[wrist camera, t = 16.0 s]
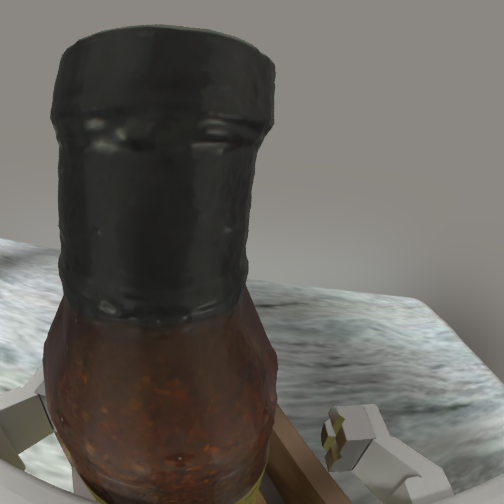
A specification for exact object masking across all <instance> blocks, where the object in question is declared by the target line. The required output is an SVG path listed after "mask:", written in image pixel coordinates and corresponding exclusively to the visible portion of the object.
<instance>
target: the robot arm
mask: <svg viewBox="0 0 504 504" xmlns="http://www.w3.org/2000/svg"><path fill="white" fill-rule="evenodd" d="M329 417H330V419H328V420H327V421H325V423H324V425H323V428H322V433H321V441H322V446H323V448H324V449H326V450H327V451H328V452H327V454H326V456H325V459H326V464H327V468H328V472H337V471H351V470H352V472H353V473H354V474H355V475H356V476H357V477H358V478H359V479H360V480H361V481H362V483H363V484H364V485H365V486H366V487H367V488H368V489H369V490H370V491H372V492H373V493H374V494H375V495H376V496H377V497H378V498H379V499H380V500H381V501H382V502H383V504H504V473H502V474H500V475H498V476H496V477H494V478H492V479H490V480H488V481H486V482H484V483H482V484H480V485H477V486H475V487H473V488H470V489H468V490H466V491H463V492H461V493H458V494H456V495H455V494H454V492H453V489H452V487H451V485H450V483H449V481H448V479H447V477H446V475H445V473H444V471H443V469H442V468H441V467H439V466H438V465H436V464H435V463H433V462H432V461H430V460H428V459H427V458H425V457H424V456H422V455H421V454H419V453H418V452H416V451H415V450H414V449H412V448H411V447H409V446H408V445H406V444H405V443H403V442H402V441H400V440H399V439H398V438H396V437H391V436H390V433H389V431H388V429H387V427H386V425H385V422H384V420H383V418H382V416H381V414H380V411H379V409H378V407H377V405H375V404H362V405H338V406H333V407H332V408H331V409H330V411H329ZM54 431H56V432H57V430H56V428H55V426H54V424H53V422H52V420H51V416H50V414H49V411H48V407H47V402H46V396H45V386H44V374H43V364H42V365H41V366H40V367H39V369H38V370H37V371H36V372H35V373H34V375H33V376H32V377H31V378H30V380H29V381H28V382H27V384H26V385H25V386H24V387H23V388H22V387H18V388H15V389H13V390H10V391H7V392H5V393H2V394H0V504H102V503H99V502H96V501H93V500H90V499H87V498H84V497H81V496H79V495H76V494H73V493H71V492H68V491H66V490H63V489H61V488H59V487H56V486H54V485H52V484H49V483H47V482H45V481H43V480H41V479H39V478H37V477H35V476H32V475H30V474H28V473H27V472H25V471H24V470H25V468H26V467H25V464H24V463H23V461H22V460H21V459H20V457H19V456H18V454H20V453H21V452H23V451H24V450H26V449H28V448H29V447H31V446H32V445H34V444H36V443H37V442H39V441H40V440H42V439H43V438H45V437H47V436H48V435H50V434H51V433H53V432H54Z"/></svg>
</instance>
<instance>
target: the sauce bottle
mask: <svg viewBox="0 0 504 504" xmlns="http://www.w3.org/2000/svg"><path fill="white" fill-rule="evenodd" d="M275 74H276V73H275V65H274V63H273V62H272V60H271V59H270V58H269V57H267V56H266V55H264V54H263V53H261V52H260V51H259V50H258V49H257V48H256V47H254V46H253V45H252V44H250V43H248V42H246V41H244V40H241V39H239V38H237V37H235V36H231V35H227V34H223V33H220V32H216V31H212V30H208V29H198V28H189V27H182V26H173V25H138V26H128V27H122V28H116V29H110V30H105V31H101V32H98V33H95V34H92V35H90V36H87V37H84V38H82V39H80V40H78V41H77V42H76V43H75V44H74V45H72V46H70V47H69V48H67V50H66V51H65V52H64V54H63V55H62V58H61V61H60V65H59V70H58V74H57V78H56V82H55V86H54V92H53V102H52V108H51V115H50V119H51V121H52V124H53V127H54V130H55V133H56V138H57V141H58V144H59V163H58V177H59V182H58V210H59V229H60V240H61V254H60V256H59V261H58V268H59V276H60V279H61V281H62V286H63V292H64V295H63V298H62V300H61V303H60V305H59V308H58V310H57V313H56V315H55V318H54V320H53V322H52V325H51V327H50V330H49V332H48V336H47V339H46V341H45V343H44V353H43V374H44V386H45V396H46V402H47V407H48V411H49V414H50V416H51V420H52V422H53V424H54V426H55V428H56V430H57V432H58V434H59V436H60V438H61V439H62V441H63V443H64V445H65V446H66V448H67V450H68V451H69V453H70V456H71V460H72V463H73V465H74V467H75V469H76V471H77V473H78V475H79V476H80V478H81V479H82V481H83V482H84V484H85V485H86V487H87V488H88V490H89V491H90V493H91V494H92V496H93V497H94V498H95V500H96V501H97V502H99V503H102V504H254V502H255V499H256V496H257V493H258V490H259V486H260V483H261V480H262V476H263V473H264V470H265V467H266V464H267V461H268V455H269V437H270V435H271V433H272V427H273V425H274V423H275V422H274V415H275V411H276V406H277V393H276V379H277V371H278V363H277V355H276V352H275V351H274V349H273V348H272V346H271V344H270V342H269V340H268V338H267V335H266V333H265V331H264V328H263V326H262V323H261V321H260V318H259V316H258V314H257V311H256V309H255V306H254V304H253V302H252V299H251V297H250V294H249V292H248V289H247V287H246V285H245V283H246V279H247V275H248V260H247V257H246V241H247V238H248V225H249V213H250V208H251V191H252V184H253V179H254V175H255V162H256V156H257V152H258V150H259V148H260V146H261V144H262V142H263V140H264V138H265V136H266V135H267V133H268V132H269V131H270V129H271V128H272V126H273V125H274V91H275V83H274V81H275Z"/></svg>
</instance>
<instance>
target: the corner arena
mask: <svg viewBox="0 0 504 504" xmlns="http://www.w3.org/2000/svg"><path fill="white" fill-rule="evenodd" d="M274 422H275V423H274V425H273V427H272V433H271V435H270V437H269V455H268V461H267V464H266V467H265V470H264V473H263V476H262V480H261V483H260V486H259V490H258V493H257V496H256V499H255V502H254V504H353V503H352V502H351V501H350V499H349V498H348V497H347V496H346V495H345V493H344V492H343V491H342V490H341V488H340V487H339V486H338V485H337V483H336V482H335V481H334V480H333V478H332V477H331V476H330V474H329V473H328V472H327V471H326V469H325V468H324V467H323V465H322V464H321V463H320V462H319V460H318V459H317V458H316V456H315V455H314V454H313V452H312V451H311V450H310V448H309V447H308V446H307V444H306V443H305V442H304V440H303V439H302V438H301V436H300V435H299V434H298V432H297V431H296V429H295V428H294V427H293V425H292V424H291V423H290V421H289V420H288V418H287V417H286V416H285V414H284V413H283V411H282V410H281V409H280V407H279V406H278V404H277V406H276V411H275V415H274ZM54 433H55V435H56V437H57V439H58V441H59V443H60V445H61V447H62V449H63V451H64V453H65V455H66V457H67V459H68V461H69V462H70V464H71V466H72V477H73V488H74V494H76V495H79V496H81V497H84V498H87V499H90V500H93V501H96V500H95V498H94V497H93V496H92V494H91V493H90V491H89V490H88V488H87V487H86V485H85V484H84V482H83V481H82V479H81V478H80V476H79V475H78V473H77V471H76V469H75V467H74V465H73V463H72V460H71V456H70V453H69V451H68V450H67V448H66V446H65V445H64V443H63V441H62V439H61V438H60V436H59V434H58V432H56V431H54ZM96 502H97V501H96Z"/></svg>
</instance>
